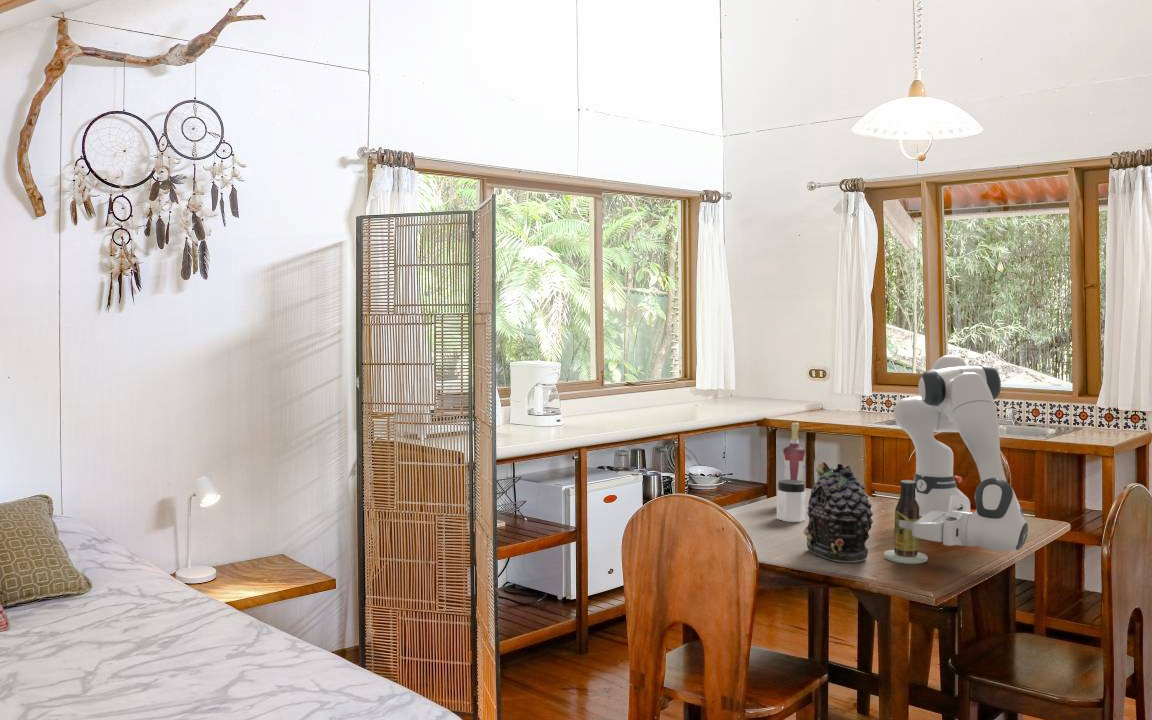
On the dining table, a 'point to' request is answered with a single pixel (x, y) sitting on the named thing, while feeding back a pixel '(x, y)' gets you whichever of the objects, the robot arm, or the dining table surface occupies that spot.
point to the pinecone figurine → (838, 515)
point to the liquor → (794, 457)
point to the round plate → (905, 558)
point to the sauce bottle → (906, 511)
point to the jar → (791, 500)
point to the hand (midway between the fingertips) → (903, 520)
